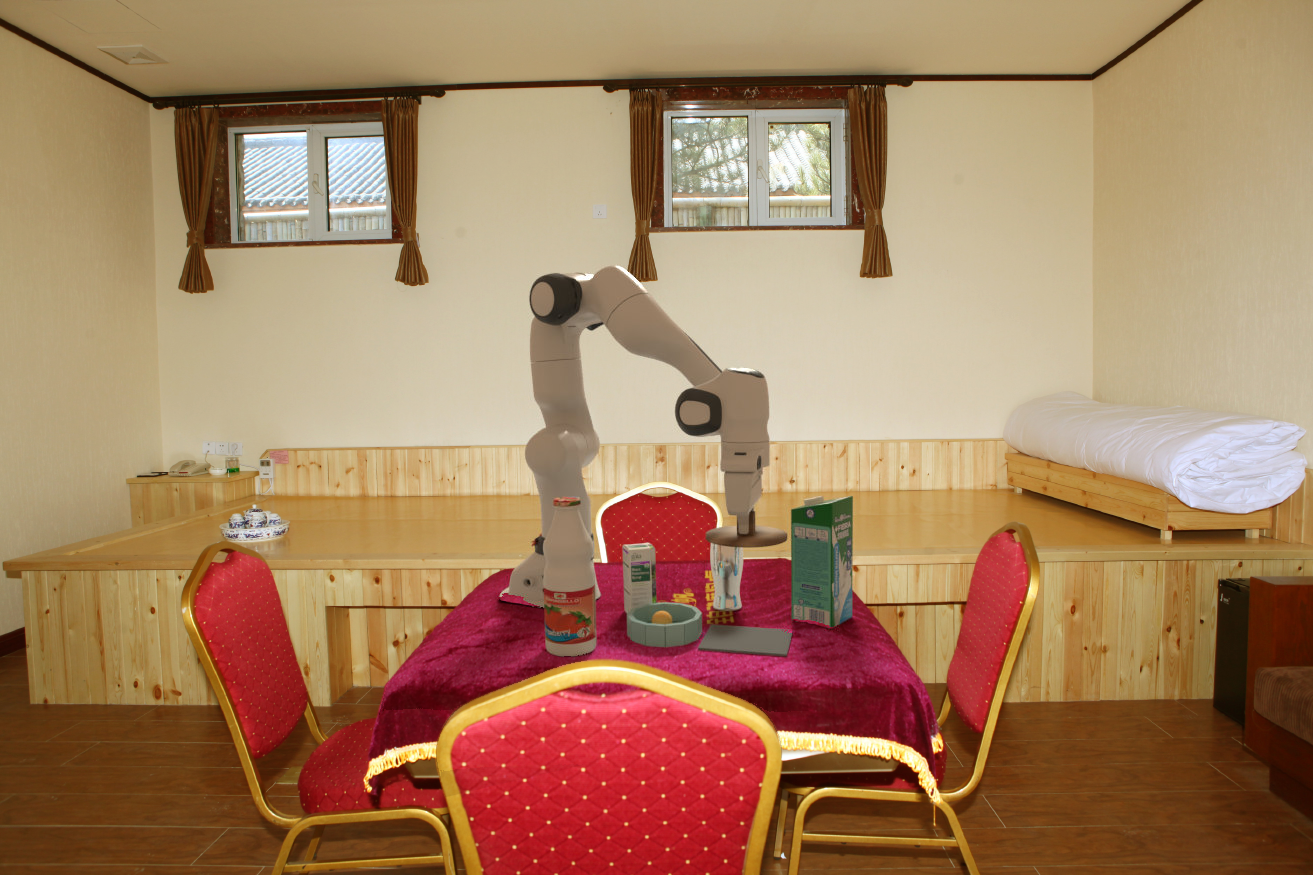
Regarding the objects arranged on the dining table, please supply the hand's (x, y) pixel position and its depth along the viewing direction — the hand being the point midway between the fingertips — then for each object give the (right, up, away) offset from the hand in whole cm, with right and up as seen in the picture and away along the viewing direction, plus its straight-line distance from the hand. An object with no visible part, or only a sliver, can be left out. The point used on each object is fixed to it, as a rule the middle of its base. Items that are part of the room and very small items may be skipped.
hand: (745, 530), depth 146 cm
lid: (0, -1, 0) cm, 1 cm away
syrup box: (-20, -20, +19) cm, 34 cm away
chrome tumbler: (-1, -19, +23) cm, 30 cm away
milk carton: (+17, -20, +14) cm, 29 cm away
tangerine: (-15, -18, +6) cm, 25 cm away
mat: (0, -21, +2) cm, 21 cm away
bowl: (-15, -21, +7) cm, 26 cm away
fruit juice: (-32, -22, 0) cm, 39 cm away
